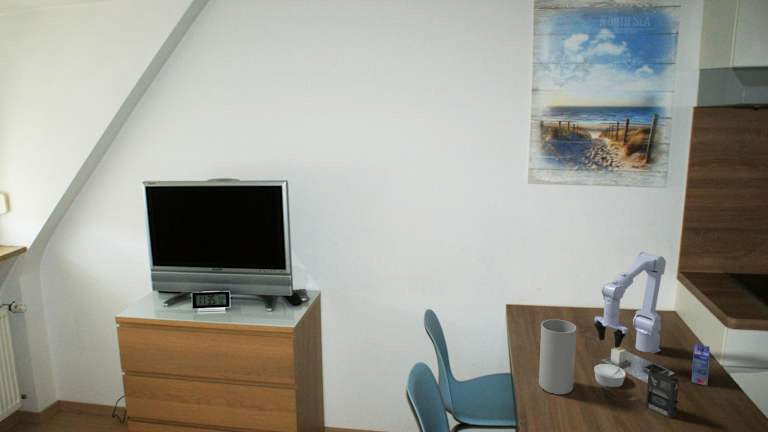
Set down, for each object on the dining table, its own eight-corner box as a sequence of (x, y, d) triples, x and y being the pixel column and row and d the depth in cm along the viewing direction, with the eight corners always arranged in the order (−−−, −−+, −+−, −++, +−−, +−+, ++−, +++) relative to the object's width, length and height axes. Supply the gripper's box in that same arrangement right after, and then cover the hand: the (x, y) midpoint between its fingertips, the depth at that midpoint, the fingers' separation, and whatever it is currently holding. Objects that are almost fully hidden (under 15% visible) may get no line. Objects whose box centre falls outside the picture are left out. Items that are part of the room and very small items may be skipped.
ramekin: (628, 391, 194) (629, 379, 192) (596, 389, 196) (597, 376, 195) (620, 376, 204) (621, 364, 203) (590, 374, 206) (591, 362, 205)
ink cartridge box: (691, 371, 207) (695, 337, 204) (707, 374, 204) (711, 340, 201) (690, 382, 199) (694, 347, 196) (707, 386, 196) (711, 350, 193)
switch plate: (626, 353, 223) (627, 349, 223) (674, 375, 204) (675, 370, 204) (601, 362, 216) (601, 357, 216) (648, 385, 197) (648, 381, 197)
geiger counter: (680, 415, 178) (684, 375, 175) (673, 420, 175) (677, 379, 172) (650, 402, 186) (653, 364, 183) (643, 406, 184) (646, 367, 181)
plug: (617, 359, 216) (618, 344, 215) (625, 363, 213) (626, 348, 211) (610, 361, 214) (611, 347, 213) (618, 365, 211) (619, 350, 209)
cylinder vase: (570, 379, 203) (573, 320, 198) (575, 396, 191) (578, 334, 186) (537, 377, 205) (539, 318, 200) (540, 393, 193) (542, 331, 188)
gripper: (590, 308, 213) (588, 338, 216) (620, 320, 201) (617, 352, 203) (602, 305, 216) (600, 335, 219) (632, 316, 204) (629, 348, 206)
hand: (609, 343), depth 211 cm, fingers open, 7 cm apart
